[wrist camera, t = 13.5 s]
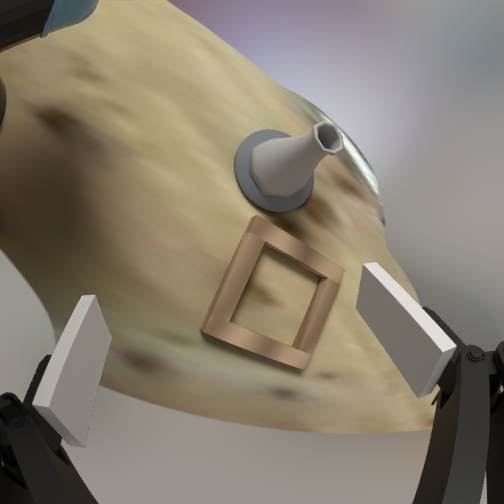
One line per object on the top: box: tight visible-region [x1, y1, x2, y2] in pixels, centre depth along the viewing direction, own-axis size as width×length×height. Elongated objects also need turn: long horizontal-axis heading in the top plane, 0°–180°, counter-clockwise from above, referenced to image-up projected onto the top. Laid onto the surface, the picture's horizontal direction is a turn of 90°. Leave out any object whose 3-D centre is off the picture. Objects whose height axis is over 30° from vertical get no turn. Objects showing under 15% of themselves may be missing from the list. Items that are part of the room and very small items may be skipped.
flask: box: [250, 121, 344, 199], centre depth 28 cm, size 7×7×10 cm
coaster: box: [234, 130, 314, 213], centre depth 33 cm, size 10×10×1 cm
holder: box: [200, 215, 345, 370], centre depth 32 cm, size 13×13×2 cm
